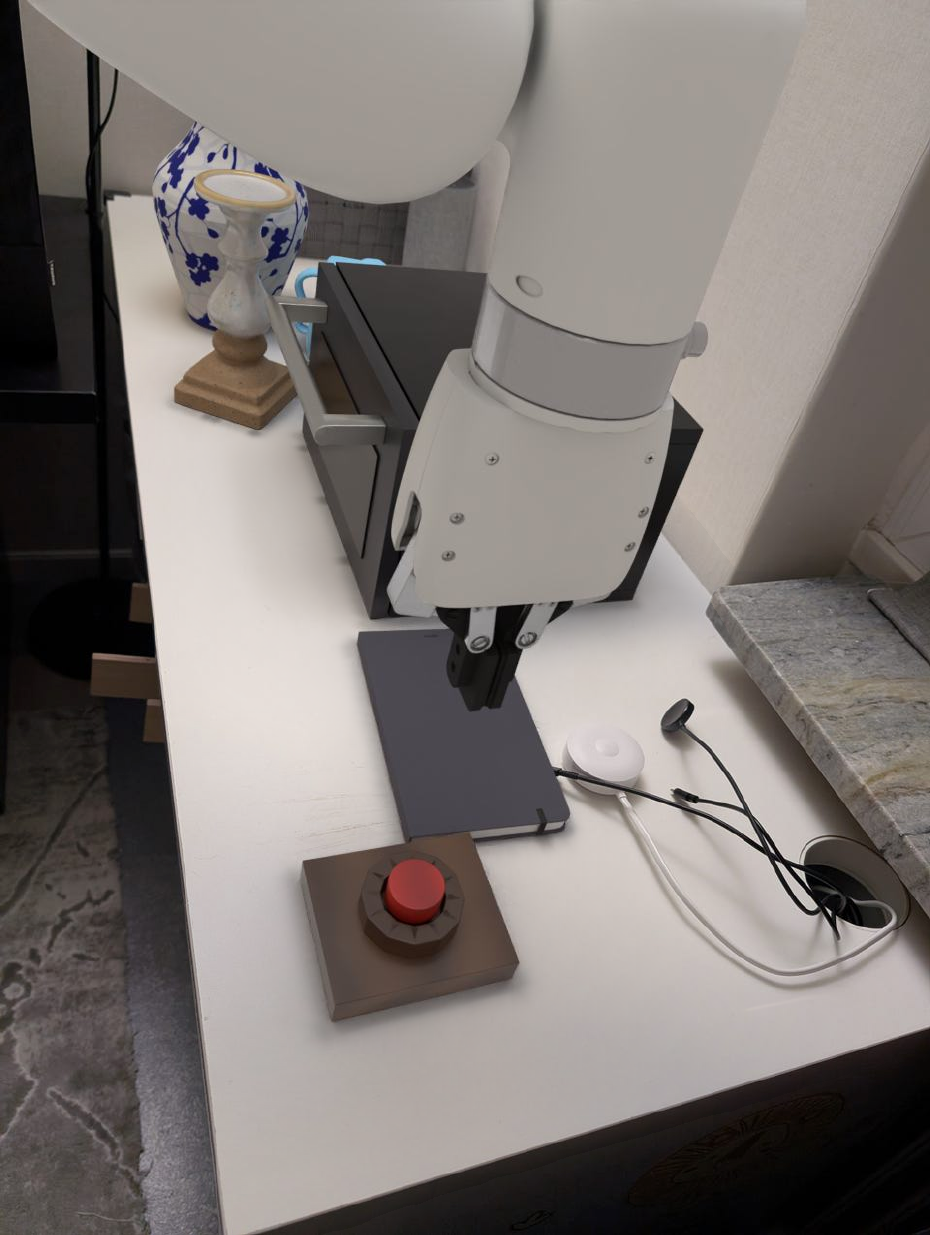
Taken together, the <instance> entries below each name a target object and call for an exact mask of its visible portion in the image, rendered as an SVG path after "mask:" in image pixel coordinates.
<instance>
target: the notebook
mask: <svg viewBox="0 0 930 1235" xmlns="http://www.w3.org/2000/svg"><path fill="white" fill-rule="evenodd" d="M453 635H454V632H453V631H452V630H451V629H450V628H431V629H430V628H429V629H397V630H396V629H395V630H394V629H393V630H391V629H390V630H365V631H363V630H361V631H358V634H357V640H356V647H357V650H358V651H357V652H358V654H359V658H360V663H361V667H362V671H363V676H364V680H365V682H366V687H367V692H368V696H369V700H370V704H371V708H372V713H373V714H374V715H373V716H374V720H375V724H376V728H377V732H378V737H379V740H380V745H381V749H382V753H383V757H384V761H385V765H386V770H387V774H388V777H389V781H390V785H391V790H392V794H393V798H394V801H395V806H396V810H397V815H398V818H399V822H400V827H401V830H402V835H403V839H404V843H409V842H415V841H421V840H427V839H432V838H438V837H444V836H450V835H456V834H462V833H468V832H470V834H471V836H472V839H473V842H474V843H476V842H484V841H485V842H486V841H492V840H500V839H501V840H503V839H509V838H510V839H511V838H519V837H528V836H529V837H530V836H539V835H541V836H542V835H545V834H546V835H547V834H553V833H554V834H555V833H560V832H562V831H563V830H565V828H566V821H568V820H570V817H571V811H570V807H569V805H568V803H567V800H566V797H565V796H564V793H563V792H564V791H563V790H562V787H561V785H560V783H559V780H558V778H557V775H556V772H555V771H554V768H553V766H552V762H551V760H550V759H549V755H548V753H547V751H546V748H545V746H544V743H543V741H542V738H541V736H540V733H539V731H538V729H537V725H536V723H535V721H534V719H533V716H532V713H531V711H530V709H529V706H528V704H527V702H526V699H525V696H524V695H523V692H522V689H521V687H520V685H519V682H518V680H517V676H516V674H515V675H514V678H513V680H512V681H511V682H509V684H508V687H507V690H506V693H505V696H504V699H503V702H502V706H501V708H497V709H489V708H488V707H485V706H484V707H482V708H481V710H480V711H471V712H469V711H468V709H467V707H466V705H465V702H464V700H463V698H462V695H461V693H460V691H459V688H453V687H452V686H451V684H450V681H449V679H448V676H447V671H446V663H447V659H448V655H449V651H450V647H451V643H452V639H453Z"/></svg>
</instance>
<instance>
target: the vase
mask: <svg viewBox="0 0 930 1235" xmlns="http://www.w3.org/2000/svg"><path fill="white" fill-rule="evenodd" d="M215 169H234V170H244V171H250V172H255V173H259V174H263V175H267V176H270V177H273V178H275V179H278V180H280V181H282V182H284V183H286V184H287V185H289V186H290V187H291V188H292V189H293V190H294V191H295V193H296V202H295V205H294V206H293V207H292V208H291V209H289V210H287V211H285V212H281V213H273V214H271V215H270V216H269V218H268V219H267V220H266V221H265V222H264V224H263V226H262V229H261V237H262V240H263V242H264V244H265V246H266V247H267V249H268V256H267V257H266V258H265V259H263V263H262V264H261V265H260V267H259V271H258V274H259V278H260V280H261V283H262V285H263V287H264V289H265V291H266V292H267V294H268V296H271V295H276V296H282V293H283V290H284V288H285V286H286V283H287V281H288V279H289V276H290V273H291V271H292V269H293V267H294V264H295V262H296V259H297V257H298V254H299V250H300V248H301V245H302V243H303V240H304V237H305V235H306V232H307V228H308V223H309V222H308V221H309V216H310V207H309V206H310V205H309V199H308V194H307V191H306V187H305V185H303V184H301V183H299V182H297V181H294V180H292V179H290V178H288V177H286V176H284V175H282V174H281V173H279V172H277V171H275V170H273V169H271V168H269V167H267V166H266V165H264V164H262V163H260V162H259V161H257V160H256V159H254V158H252V157H251V156H249V155H247V154H246V153H244V152H242V151H241V150H239V149H238V148H236V147H234V146H233V145H231V144H230V143H228V142H227V141H225V140H224V139H222V138H221V137H219V136H217V135H216V134H214V133H213V132H211V131H210V130H208V129H207V128H205V127H204V126H202V125H201V124H199V123H198V122H196V121H195V120H194V122H193V123H192V126H191V127H190V129H189V131H187V133H186V135H185V136H184V137H183V138H182V140H181V141H180V142H179V143H178V144H177V145H176V146H175V147H174V148H173V149H172V150H171V151H170V152H169V153H168V154H167V155H166V156H165V157H164V158H163V159H162V161H161V162H160V163H159V164H158V166H157V168H156V171H155V172H154V178H153V183H152V186H151V187H152V188H151V190H152V200H153V209H154V213H155V216H156V219H157V223H158V227H159V230H160V234H161V237H162V241H163V243H164V247H165V249H166V252H167V255H168V258H169V261H170V265H171V267H172V270H173V273H174V275H175V278H176V282H177V284H178V288H179V290H180V293H181V296H182V299H183V302H184V304H185V308H186V309H185V310H186V312H187V315H188V317H189V318H190V319H191V320H192V321H193V322H195V323H196V324H198V325H200V326H201V327H204V328H206V329H209V330H212V331H216V330H217V329H218V328H216V327H215V326H214V325H213V323H212V322H211V321H210V319H209V317H208V313H207V305H208V301H209V298H210V296H211V294H212V292H213V291H214V290H215V288H216V287H217V286H218V284H219V283H220V282H221V280H222V279H223V277H224V275H225V273H226V270H227V265H226V262H225V259H224V258H223V254H222V253H221V252H220V251H219V249H218V244H219V242H220V241H221V240H222V239H223V237H224V236H225V234H226V231H227V222H226V219H225V217H224V215H223V214H222V212H221V211H220V209H219V206H217V205H214V204H212V203H210V202H208V201H206V200H204V199H203V198H201V197H200V196H199V195H198V194H197V193H196V191H195V189H194V178H195V177H196V176H197V175H198V174H199V173H201V172H204V171H208V170H215Z"/></svg>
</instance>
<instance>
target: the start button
mask: <svg viewBox="0 0 930 1235" xmlns="http://www.w3.org/2000/svg"><path fill="white" fill-rule="evenodd" d="M444 891H445V882H444V879H443V876H442V874H441V873H440V871H439V870H438V869H437V868H436V867H435V866H434V865H432V864H431V863H429V862H427V861H424V860H420V859H409V860H405V861H403V862H401V863H399V864H398V865H396V866H395V867H394V868H393V870H392V871H391V873H390V875H389V879H388V883H387V887H386V891H385V903H386V906H387V908H388V910H389V911H390V913H391V914H392V915H393V916H394V917H395V918H397V919H398V920H400V921H402V922H405V923H409V924H420V923H424V922H426V921H428V920H430V919H431V918H433V917H434V916H435V914H436V913H437V911H438V910H439V907H440V904H441V901H442V898H443V895H444Z"/></svg>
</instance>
